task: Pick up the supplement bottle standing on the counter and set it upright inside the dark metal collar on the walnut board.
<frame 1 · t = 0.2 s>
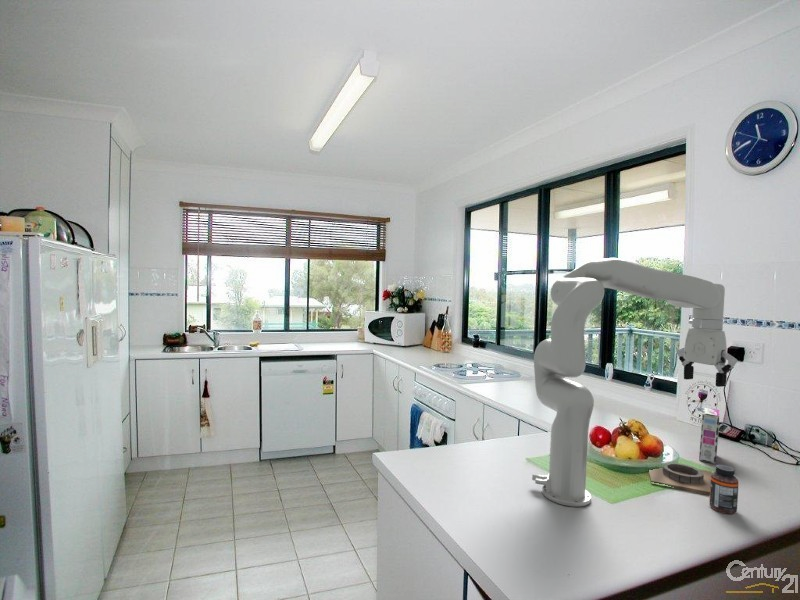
hand: (703, 382, 132), 31 cm above the worktop, tool pointing down, fingers open, 9 cm apart
collar board: (682, 479, 136), on the worktop
supplement bottle: (722, 510, 118), on the worktop
candy bar box: (707, 458, 155), on the worktop
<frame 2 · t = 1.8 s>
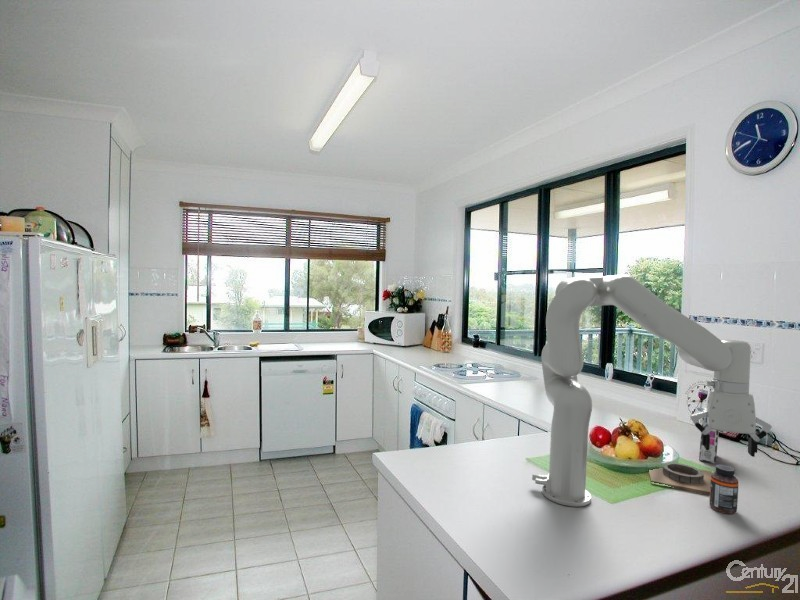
hand: (728, 451, 117), 16 cm above the worktop, tool pointing down, fingers open, 9 cm apart
nothing on the worktop moved.
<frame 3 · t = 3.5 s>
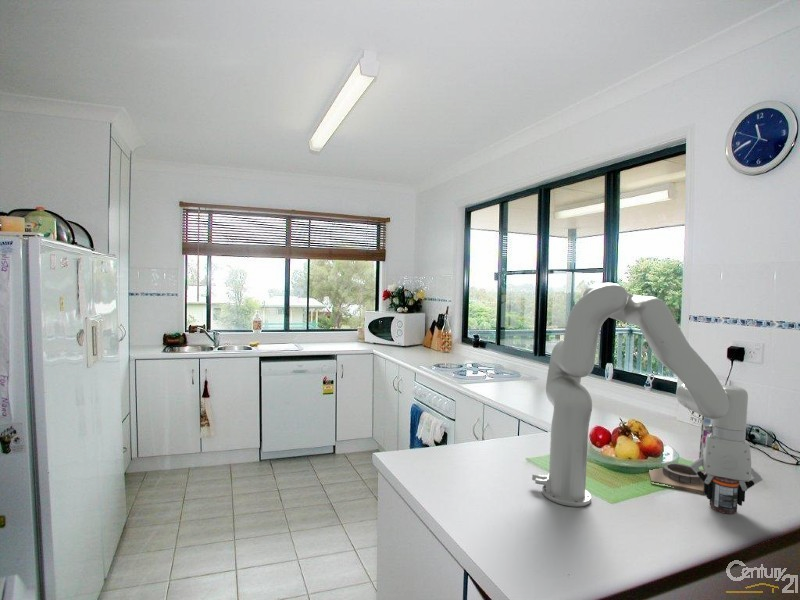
hand: (723, 499, 118), 3 cm above the worktop, tool pointing down, fingers closed on supplement bottle, 6 cm apart
supplement bottle: (722, 510, 118), on the worktop, touching gripper
everything else where it was.
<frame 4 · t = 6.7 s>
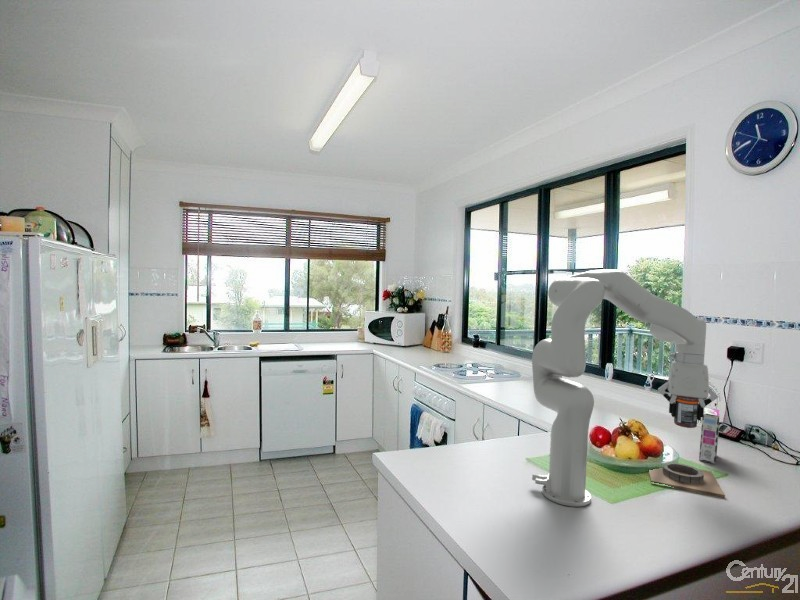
hand: (685, 417, 135), 19 cm above the worktop, tool pointing down, fingers closed on supplement bottle, 6 cm apart
supplement bottle: (685, 426, 135), point 16 cm above the worktop, touching gripper
everything else where it was.
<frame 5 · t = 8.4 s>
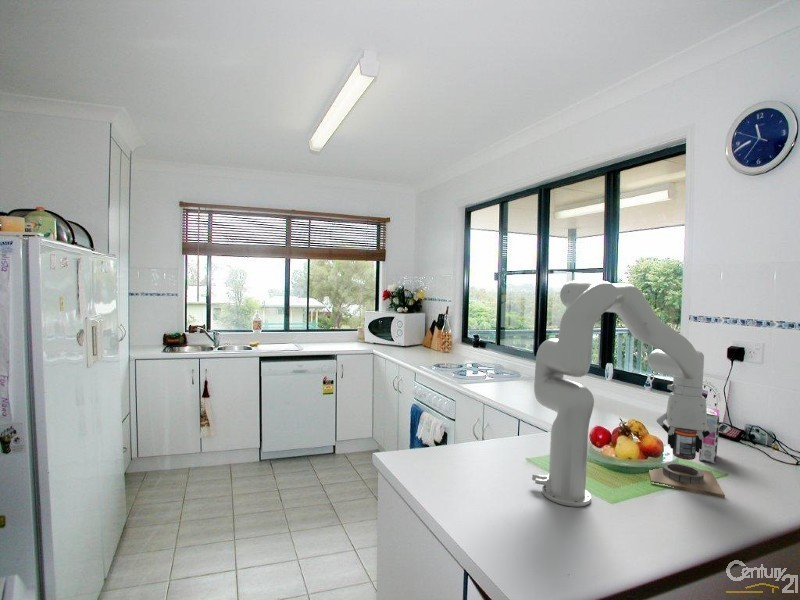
hand: (684, 448, 136), 10 cm above the worktop, tool pointing down, fingers closed on supplement bottle, 6 cm apart
supplement bottle: (683, 457, 136), point 7 cm above the worktop, touching gripper
everything else where it was.
when the fingers open (4 cm above the worktop, at t = 9.9 s): supplement bottle stays where it is, resting on collar board.
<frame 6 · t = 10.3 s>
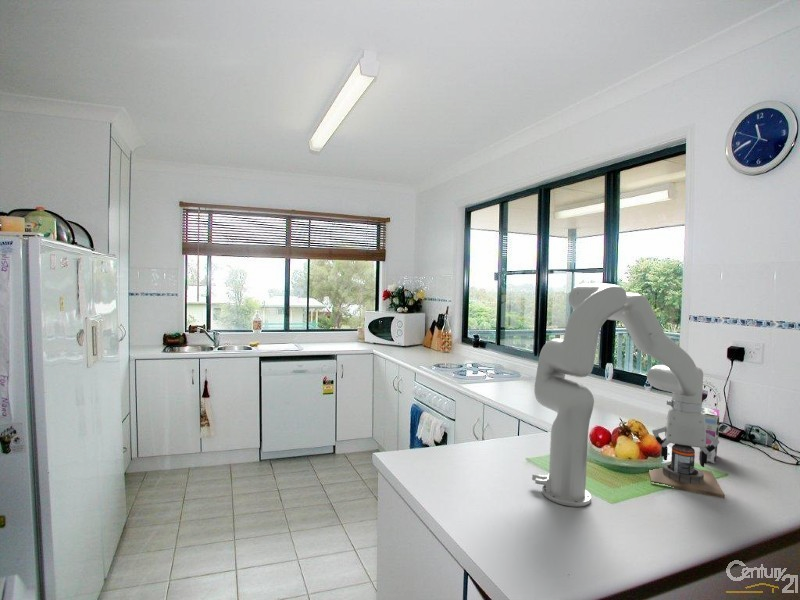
hand: (683, 462, 136), 5 cm above the worktop, tool pointing down, fingers open, 9 cm apart
supplement bottle: (681, 476, 136), point 1 cm above the worktop, touching collar board
everything else where it was.
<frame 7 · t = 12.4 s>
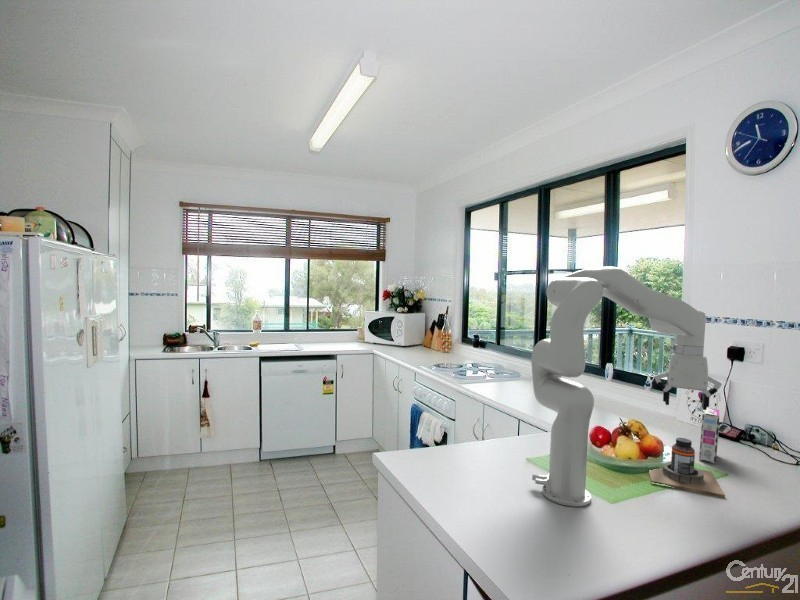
hand: (685, 406, 136), 22 cm above the worktop, tool pointing down, fingers open, 9 cm apart
nothing on the worktop moved.
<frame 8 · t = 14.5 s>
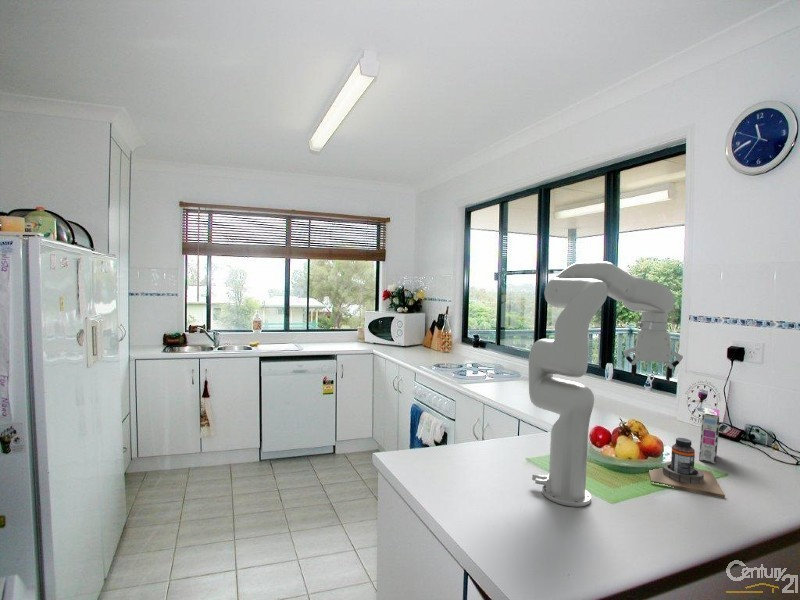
hand: (650, 378, 148), 28 cm above the worktop, tool pointing down, fingers open, 9 cm apart
nothing on the worktop moved.
at the end: supplement bottle 0.2 cm off-centre on the collar board, point 0.8 cm above the collar board's base; supplement bottle tilted 0°; the gripper is holding nothing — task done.
